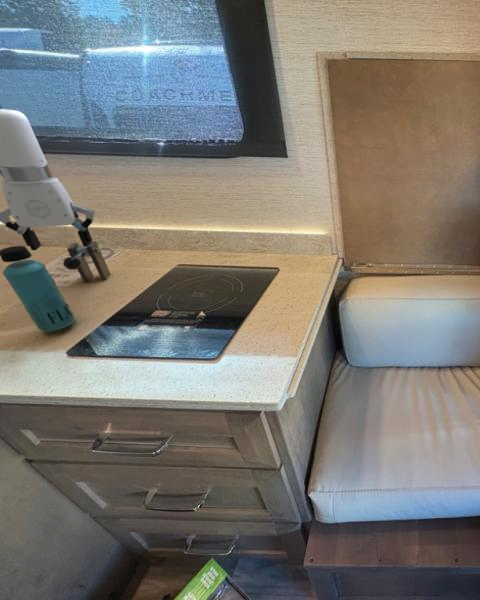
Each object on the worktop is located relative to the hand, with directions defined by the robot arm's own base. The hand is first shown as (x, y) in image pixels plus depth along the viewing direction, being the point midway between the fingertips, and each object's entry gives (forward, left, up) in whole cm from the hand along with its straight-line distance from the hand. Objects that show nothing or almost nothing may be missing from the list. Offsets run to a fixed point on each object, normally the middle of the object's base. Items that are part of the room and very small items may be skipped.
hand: (63, 246), depth 81 cm
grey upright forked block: (+1, +8, -14) cm, 16 cm away
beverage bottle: (-1, -15, -15) cm, 21 cm away
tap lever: (+1, +3, -6) cm, 7 cm away
